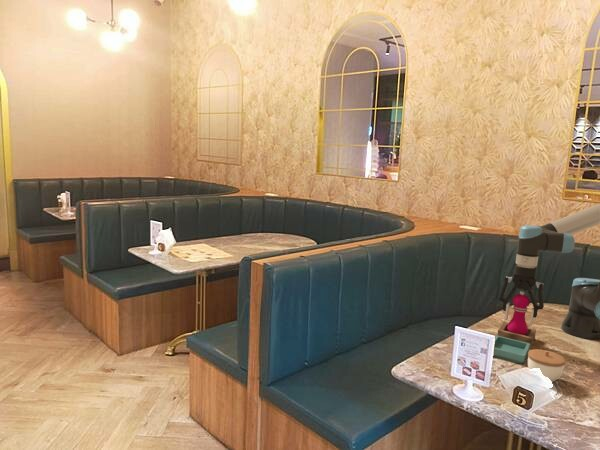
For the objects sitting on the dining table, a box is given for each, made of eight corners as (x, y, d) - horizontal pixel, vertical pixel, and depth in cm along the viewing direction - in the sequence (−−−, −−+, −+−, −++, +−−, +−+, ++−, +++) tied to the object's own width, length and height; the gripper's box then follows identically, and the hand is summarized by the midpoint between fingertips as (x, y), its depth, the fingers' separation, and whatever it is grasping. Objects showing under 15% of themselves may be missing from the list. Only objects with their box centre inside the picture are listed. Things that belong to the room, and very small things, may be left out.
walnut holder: (534, 338, 187) (536, 329, 186) (530, 348, 177) (531, 338, 176) (502, 331, 193) (504, 321, 192) (496, 340, 183) (498, 330, 182)
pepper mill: (528, 344, 181) (535, 294, 177) (508, 341, 182) (514, 292, 179) (523, 337, 188) (530, 289, 184) (504, 334, 189) (510, 287, 186)
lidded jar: (519, 376, 154) (523, 349, 152) (533, 367, 160) (537, 341, 159) (553, 390, 146) (557, 361, 144) (567, 380, 152) (571, 353, 151)
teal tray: (529, 351, 174) (530, 343, 174) (523, 364, 163) (524, 356, 162) (495, 342, 181) (496, 335, 180) (487, 354, 169) (488, 346, 169)
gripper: (494, 262, 183) (488, 318, 186) (555, 272, 171) (547, 331, 175) (498, 259, 189) (492, 313, 192) (557, 268, 177) (549, 325, 181)
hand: (518, 321), depth 184 cm, fingers open, 8 cm apart
